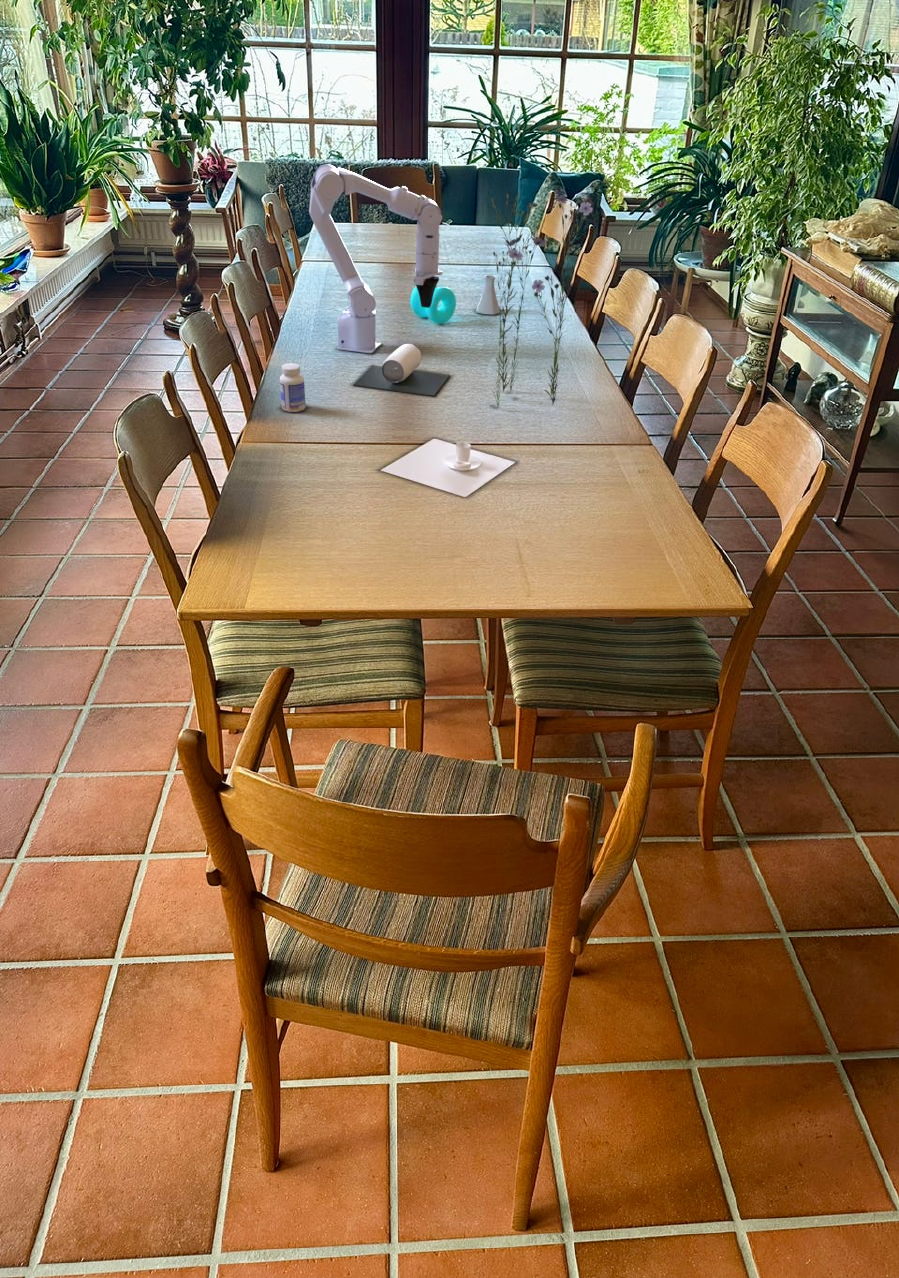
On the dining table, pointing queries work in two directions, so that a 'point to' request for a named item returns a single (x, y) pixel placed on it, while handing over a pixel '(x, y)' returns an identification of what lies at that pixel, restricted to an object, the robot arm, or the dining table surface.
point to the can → (401, 363)
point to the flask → (488, 298)
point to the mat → (403, 382)
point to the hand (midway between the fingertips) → (426, 306)
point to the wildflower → (536, 284)
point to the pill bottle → (292, 388)
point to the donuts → (435, 305)
